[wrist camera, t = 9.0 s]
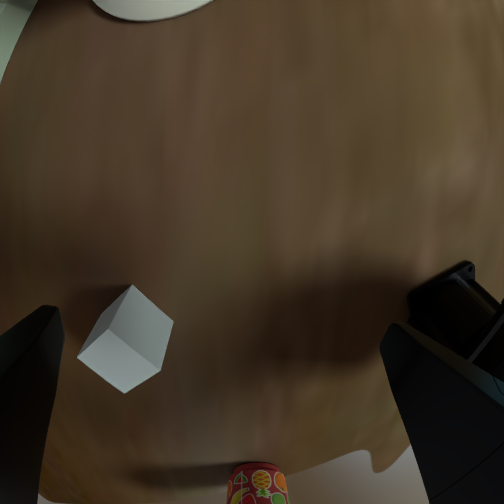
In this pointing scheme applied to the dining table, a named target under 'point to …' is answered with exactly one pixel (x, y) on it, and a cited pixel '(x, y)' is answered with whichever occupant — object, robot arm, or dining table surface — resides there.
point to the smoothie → (257, 485)
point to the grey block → (128, 341)
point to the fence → (12, 26)
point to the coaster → (150, 8)
